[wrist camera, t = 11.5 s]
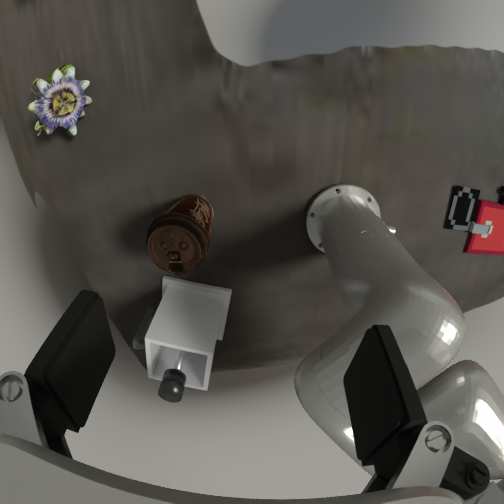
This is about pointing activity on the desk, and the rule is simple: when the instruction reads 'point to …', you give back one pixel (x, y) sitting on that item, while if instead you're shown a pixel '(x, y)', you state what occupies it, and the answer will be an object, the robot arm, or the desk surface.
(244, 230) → the desk surface
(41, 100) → the passion flower
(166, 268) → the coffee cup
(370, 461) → the robot arm
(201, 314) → the press housing
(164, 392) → the plunger
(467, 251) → the red board with handle
